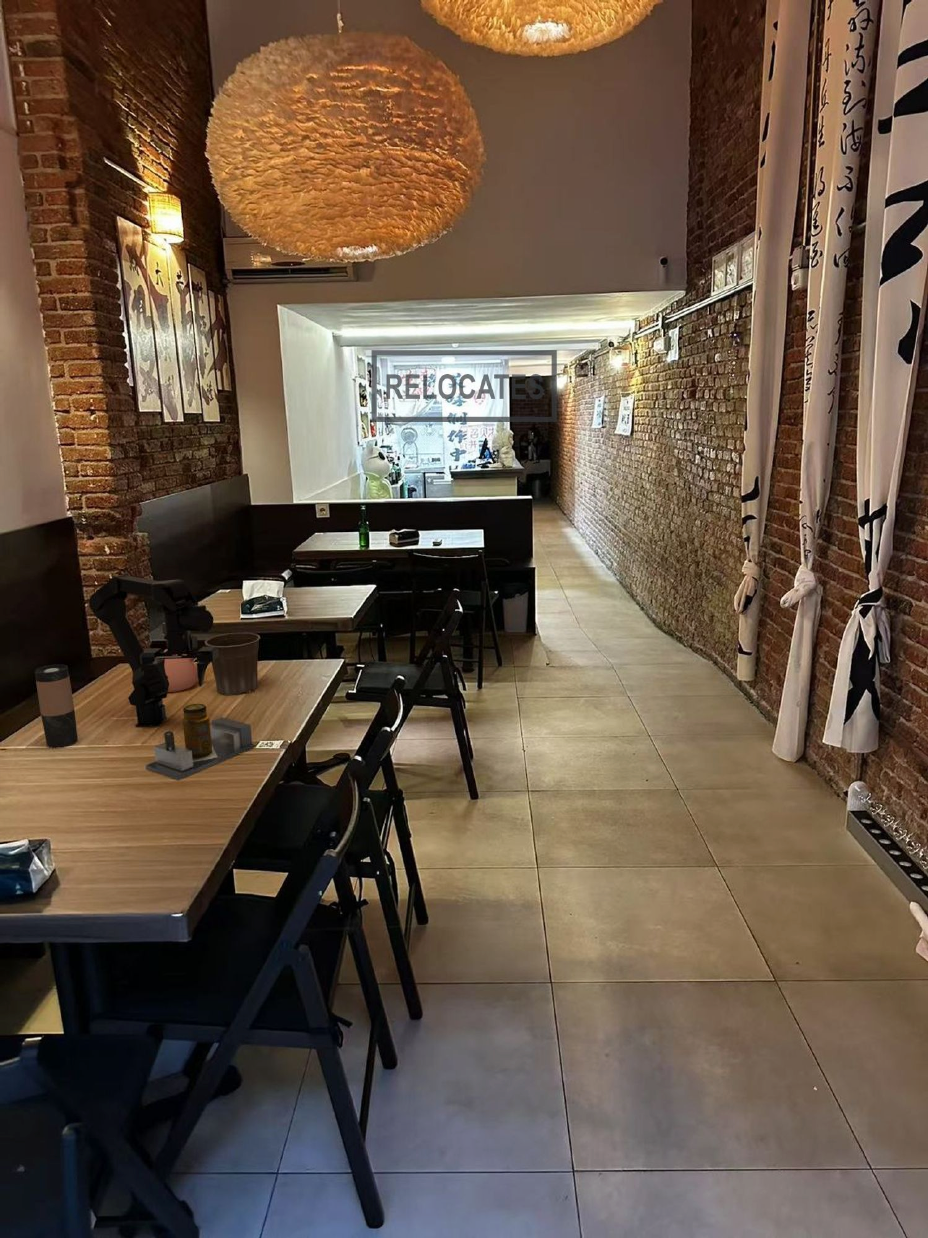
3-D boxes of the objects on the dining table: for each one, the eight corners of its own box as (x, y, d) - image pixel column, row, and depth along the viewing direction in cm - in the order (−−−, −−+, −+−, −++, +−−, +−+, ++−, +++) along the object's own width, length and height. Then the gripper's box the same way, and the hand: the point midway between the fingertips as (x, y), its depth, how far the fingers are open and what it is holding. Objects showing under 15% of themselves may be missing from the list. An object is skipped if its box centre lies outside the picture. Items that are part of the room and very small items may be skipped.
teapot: (129, 698, 235) (124, 659, 232) (137, 683, 249) (133, 646, 246) (205, 691, 239) (201, 653, 236) (209, 677, 254) (205, 641, 251)
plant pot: (256, 697, 232) (251, 645, 229) (202, 698, 233) (197, 646, 229) (270, 680, 248) (265, 631, 244) (220, 682, 248) (215, 633, 245)
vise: (178, 780, 176) (175, 755, 174) (146, 769, 182) (143, 745, 181) (253, 747, 193) (251, 725, 192) (222, 738, 200) (220, 716, 199)
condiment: (212, 746, 193) (207, 700, 190) (217, 758, 185) (212, 710, 182) (181, 751, 190) (176, 705, 187) (185, 764, 182) (180, 715, 179)
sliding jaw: (182, 771, 177) (178, 738, 176) (155, 762, 183) (151, 730, 181) (193, 766, 180) (189, 734, 178) (166, 758, 185) (162, 726, 184)
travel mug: (85, 739, 202) (74, 665, 197) (59, 750, 195) (48, 674, 191) (65, 735, 205) (54, 663, 201) (39, 746, 198) (27, 671, 194)
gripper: (221, 620, 209) (227, 676, 212) (152, 623, 209) (159, 678, 212) (209, 630, 198) (215, 689, 202) (135, 633, 198) (143, 691, 201)
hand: (183, 686), depth 204 cm, fingers open, 9 cm apart
